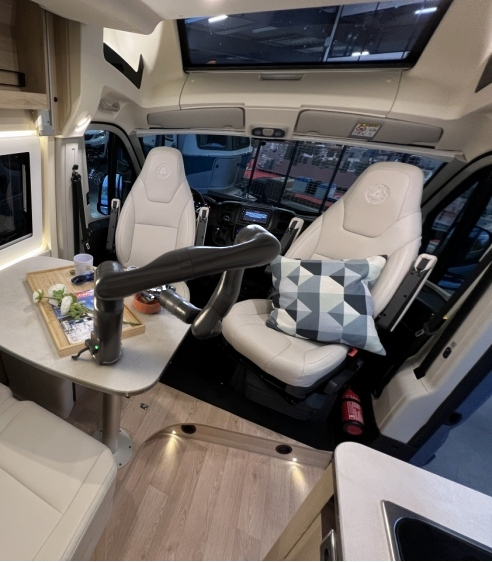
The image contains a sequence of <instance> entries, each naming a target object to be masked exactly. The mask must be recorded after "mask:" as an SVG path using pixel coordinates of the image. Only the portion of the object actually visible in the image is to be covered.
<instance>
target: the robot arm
mask: <svg viewBox="0 0 492 562" xmlns="http://www.w3.org/2000/svg"><path fill="white" fill-rule="evenodd" d="M281 250H282V246H281V242H280V241H279V240H278V239H277V237H276V236H274V234H272V233H271V232H269V231H268V230H266V229H265V228H264V227H262V226H261V225H258V224H249V225H247V226H244V227H242V228H241V230H239V232H238V233H237V235H236V237H235V238H234V241H233V244H232V245H229V246H209V245H208V246H207V245H206V246H205V245H190V246H184V247H181V248H177V249H173V250H169V251H166V252H165V253H162V254H160V255H159V256H158V257H156V258H155V259H153V260H152V261H150V262H148V263H146V264H145V265H143V266H141V267H140V266H139V268H137V269H133V270H129V271H126V270H125V269H124V267H123V266H122V265H121V264H120V263H119V262H116V261H114V260H106V261H102V262H101V263H99V264H98V266H97V267H96V268H95V270H94V274H93V317H92V318H93V321H92V322H93V323H92V325H93V327H92V330H91V331H90V338H89V337H88V338H87V339H84V346H85V347H84V348H81V349H80V350H79V351H78V352H77V354H76V355H71V357H70V358H71V359H72V360H76V359H78V358H80V356H81V355H82V354H84V352H86V351H88V352H89V353H90V355H91V356H92V358H93V359H94V360H95V361H96V363H97V364H98V365H102V364H103V365H111V364H114V363H116V362H117V361H118V360H119V359H120V358H121V354H122V353H121V351H122V350H121V348H122V345H123V344H122V335H123V324H124V312H125V299H126V298H130V297H132V296H134V294H137V293H140V296H141V297H142V298H143V299H145V300H146V301H148V302H151V300H153V299H154V300H157V301H158V303H159V305H160V306H162V308H163V309H164V310H166V312H168V313H169V314H171V315H172V316H174V317H175V318H177V319H178V320H180V321H181V322H182V323H184V324H186V325H191V332H192V335H193V336H194V337H195V338H196V339H198V340H208V339H211V338H214V337H217V336H219V335H220V334H221V333H222V332H223V324H222V321H221V320H223V319H225V318H226V317H227V316H228V315H229V314H230V312H231V311H232V309H233V307H234V306H235V304H236V302H237V300H238V298H239V295H240V291H241V285H242V281H243V276H244V272H245V270H246V269H250V268H256V267H263V266H266V265H268V264H270V263H271V262H274V260H276V259H277V258H278V256H280V253H281V252H282V251H281ZM220 273H222V274H221V277H220V279H219V282H218V283H217V286H216V287H215V288H214V289H215V290H214V291H213V293H212V294H211V297H210V298H209V300H208V302H207V304H206V305H205V306H204V307H203V308H198V307H197V306H195V305H194V304H192V303H191V302H189V301H187V300H186V298H185V297H183V296H182V295H180V294H179V293H177V288H176V287H175V286H174V285H173V284H177V283H182V282H187V281H192V280H194V279H198V278H201V277H207V276H210V275H215V274H220ZM146 291H148V292H149V293H147V292H146ZM151 291H153V293H152V295H151Z"/></svg>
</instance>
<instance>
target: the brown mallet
mask: <svg viewBox="0 0 492 562" xmlns="http://www.w3.org/2000/svg"><path fill="white" fill-rule="evenodd" d="M146 292H147V293H149V292H148V291H146ZM152 293H153V291H151V295H152ZM155 302H156V300H154V299H153V300H151V302H148V301H146V300H145V299H143V298H141V303H143V304H147V305H154V304H155Z"/></svg>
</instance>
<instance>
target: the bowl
mask: <svg viewBox="0 0 492 562" xmlns="http://www.w3.org/2000/svg"><path fill="white" fill-rule="evenodd" d="M141 298H142V297H141V296H140V293H137V294H134V295H133V300H132V306H133V308H134V309H135V310H136V311H138V312H139V313H142V314H147V315H149V314H150V315H151V314H156V313H158V312H160V311H161V310H162V308H163V307H162V306H160V305H159V303H158V301H157V300H156V302H155V304H154V305H147V304H143V303H141Z"/></svg>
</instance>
